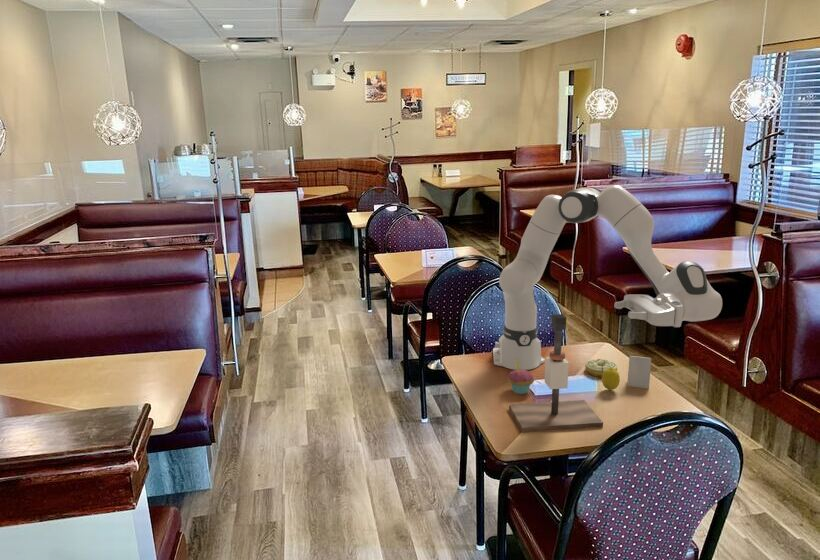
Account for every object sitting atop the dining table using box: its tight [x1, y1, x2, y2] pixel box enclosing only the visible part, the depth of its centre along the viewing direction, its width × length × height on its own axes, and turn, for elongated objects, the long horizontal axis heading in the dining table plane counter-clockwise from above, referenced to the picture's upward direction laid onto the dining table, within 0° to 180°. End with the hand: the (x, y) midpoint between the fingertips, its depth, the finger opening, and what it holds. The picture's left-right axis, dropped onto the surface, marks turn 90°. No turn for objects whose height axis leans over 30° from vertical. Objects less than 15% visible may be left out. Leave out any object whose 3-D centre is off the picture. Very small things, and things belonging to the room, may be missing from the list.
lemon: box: [601, 368, 621, 392], centre depth 207 cm, size 6×6×8 cm
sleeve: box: [544, 356, 570, 390], centre depth 186 cm, size 5×5×8 cm
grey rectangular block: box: [626, 355, 652, 389], centre depth 210 cm, size 4×7×10 cm, turn 71°
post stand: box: [508, 313, 604, 433], centre depth 186 cm, size 15×24×32 cm, turn 96°
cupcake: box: [507, 358, 535, 395], centre depth 207 cm, size 9×8×12 cm
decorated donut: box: [584, 358, 618, 378], centre depth 222 cm, size 10×11×4 cm
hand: (622, 310), depth 187 cm, fingers open, 8 cm apart
